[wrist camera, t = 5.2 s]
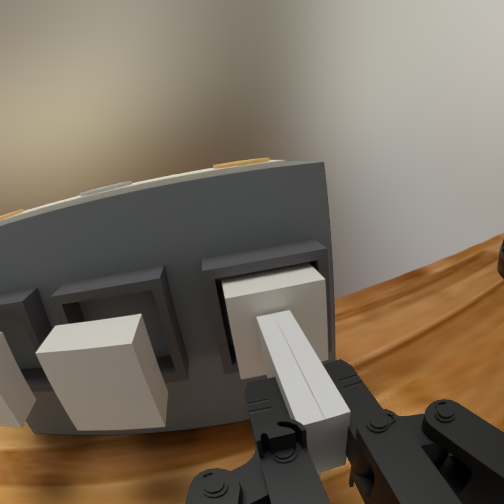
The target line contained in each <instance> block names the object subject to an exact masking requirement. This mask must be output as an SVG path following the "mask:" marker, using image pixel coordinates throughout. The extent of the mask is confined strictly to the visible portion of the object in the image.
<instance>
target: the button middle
mask: <svg viewBox="0 0 504 504" xmlns="http://www.w3.org/2000/svg"><path fill="white" fill-rule="evenodd" d="M36 356H37V358H38V360H39V362H40V364H41V366H42V368H43V370H44V372H45V374H46V376H47V378H48V380H49V382H50V384H51V386H52V388H53V389H54V391H55V393H56V395H57V397H58V399H59V400H60V402H61V404H62V406H63V407H64V409H65V411H66V412H67V414H68V416H69V417H70V419H71V421H72V422H73V424H74V426H75V427H76V429H77V430H126V429H143V428H156V427H165V425H166V412H167V400H168V391H167V388H166V385H165V383H164V380H163V377H162V374H161V371H160V369H159V366H158V363H157V360H156V357H155V354H154V351H153V348H152V345H151V342H150V339H149V336H148V333H147V330H146V326H145V323H144V320H143V317H142V314H137V315H130V316H123V317H116V318H109V319H102V320H95V321H88V322H80V323H73V324H65V325H57V326H55V327H54V328H53V330H52V331H51V332H50V334H49V335H48V336H47V338H46V339H45V340H44V342H43V343H42V345H41V346H40V347H39V349H38V350H37V352H36Z"/></svg>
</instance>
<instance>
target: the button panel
mask: <svg viewBox="0 0 504 504" xmlns="http://www.w3.org/2000/svg"><path fill="white" fill-rule="evenodd" d="M324 167H325V166H324V162H312V161H293V162H286V160H269V158H259V159H251V160H244V161H236V162H230V163H224V164H218V165H213V168H210V169H204V170H198V171H193V172H187V173H181V174H176V175H171V176H165V177H161V178H156V179H151V180H146V181H141V182H136V183H132V181H128V182H123V183H118V184H114V185H110V186H105V187H101V188H97V189H93V190H90V191H86V192H83V193H80V196H76V197H73V198H69V199H65V200H61V201H58V202H54V203H50V204H47V205H43V206H40V207H37V208H33V209H30V210H27V211H23V209H21V210H17V211H14V212H11V213H8V214H5V215H2V216H0V332H3V335H4V337H5V339H6V341H7V344H8V346H9V348H10V350H11V352H12V354H13V356H14V359H15V361H16V363H17V365H18V367H19V369H20V371H21V372H22V374H23V376H24V378H25V380H26V382H27V384H28V386H29V387H30V389H31V391H32V393H33V395H34V396H35V398H36V402H35V403H34V405H33V407H32V409H31V411H30V413H29V415H28V417H27V419H26V422H27V423H28V425H29V426H30V428H31V429H32V431H33V432H34V433H43V434H62V435H121V434H141V433H155V432H166V431H177V430H186V429H194V428H202V427H209V426H216V425H222V424H228V423H234V422H240V421H245V420H250V417H249V413H248V408H247V403H246V399H245V394H244V392H245V389H246V386H247V384H248V382H253V381H257V380H262V379H267V375H262V376H257V377H252V378H247V379H241V378H240V373H239V368H238V363H237V358H236V353H235V348H234V343H233V338H232V333H231V328H230V323H229V318H228V312H227V307H226V302H225V297H224V291H223V286H222V280H221V278H227V277H233V276H238V275H244V274H249V273H255V272H260V271H265V270H271V269H276V268H282V267H287V266H292V265H297V264H303V263H309V264H310V265H311V266H313V267H314V268H315V269H316V270H317V271H318V272H319V273H320V274H321V275H322V276H323V277H324V278H325V283H326V303H327V328H328V360H326V361H322V362H321V363H322V364H326V363H329V362H333V361H335V306H334V280H333V262H332V245H331V231H330V218H329V207H328V196H327V186H326V175H325V168H324ZM137 314H142V317H143V320H144V323H145V326H146V330H147V333H148V336H149V339H150V342H151V345H152V348H153V351H154V354H155V357H156V360H157V363H158V366H159V369H160V371H161V374H162V377H163V380H164V383H165V385H166V388H167V391H168V400H167V412H166V425H165V427H156V428H143V429H126V430H77V429H76V427H75V426H74V424H73V422H72V421H71V419H70V417H69V416H68V414H67V412H66V411H65V409H64V407H63V406H62V404H61V402H60V400H59V399H58V397H57V395H56V393H55V391H54V389H53V388H52V386H51V384H50V382H49V380H48V378H47V376H46V374H45V372H44V370H43V368H42V366H41V364H40V362H39V360H38V358H37V356H36V352H37V350H38V349H39V347H40V346H41V345H42V343H43V342H44V340H45V339H46V338H47V336H48V335H49V334H50V332H51V331H52V330H53V328H54V327H55V326H57V325H65V324H73V323H80V322H88V321H95V320H102V319H109V318H116V317H123V316H130V315H137Z"/></svg>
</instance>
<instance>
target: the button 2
mask: <svg viewBox="0 0 504 504" xmlns="http://www.w3.org/2000/svg"><path fill="white" fill-rule="evenodd" d="M221 280H222V286H223V291H224V297H225V302H226V307H227V312H228V318H229V323H230V328H231V333H232V338H233V343H234V348H235V353H236V358H237V363H238V368H239V373H240V378H241V379H247V378H252V377H257V376H262V375H266V372H265V369H264V365H263V358H262V352H261V345H260V339H259V332H258V326H257V319H256V317H258V316H263V315H268V314H273V313H278V312H283V311H287V310H290V311H291V313H292V315H293V316H294V318H295V320H296V321H297V323H298V325H299V326H300V328H301V330H302V331H303V333H304V335H305V336H306V338H307V340H308V341H309V343H310V345H311V346H312V348H313V350H314V351H315V353H316V355H317V356H318V358H319V360H320V361H321V362H322V361H326V360H328V328H327V303H326V283H325V278H324V277H323V276H322V275H321V274H320V273H319V272H318V271H317V270H316V269H315V268H314V267H313V266H311V265H310V264H309V263H303V264H297V265H292V266H287V267H282V268H276V269H271V270H265V271H260V272H255V273H249V274H244V275H238V276H233V277H227V278H221Z"/></svg>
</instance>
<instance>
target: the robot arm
mask: <svg viewBox="0 0 504 504" xmlns="http://www.w3.org/2000/svg"><path fill="white" fill-rule="evenodd" d="M498 270H499V272H500V274H501V275H502V276H503V277H504V240H503V243H502V246H501V248H500V251H499V259H498ZM256 319H257V326H258V332H259V339H260V345H261V352H262V358H263V365H264V369H265V372H266V375H267V379H262V380H257V381H253V382H248V384H247V386H246V389H245V392H244V394H245V399H246V403H247V408H248V413H249V417H250V422H251V426H252V430H253V435H254V439H255V443H256V451H255V454H254V455H253V457H252V459H250V460H249V461H248V462H247V463H246V464H244V465H242V466H241V467H239V468H236V469H234V470H232V471H228V470H225V469H220V468H215V469H208V470H205V471H203V472H200V473H199V474H198V475H197V476H196V477H194V478H193V480H192V482H191V484H190V487H189V491H188V495H187V498H186V502H185V504H330V502H329V500H328V497H327V495H326V492H325V490H324V487H323V485H322V483H321V480H320V478H319V475H318V473H319V472H322V471H326V470H329V469H332V468H335V467H338V466H342V465H345V464H346V456H347V458H348V460H349V462H350V464H351V472H350V479H349V485H350V487H353V484H354V482H355V484H356V486H357V488H358V490H359V492H360V494H361V496H362V498H363V500H364V502H365V504H504V432H502V431H500V430H499V429H497V428H496V427H494V426H493V425H491V424H490V423H488V422H486V421H485V420H483V419H482V418H480V417H479V416H477V415H476V414H474V413H472V412H471V411H469V410H468V409H466V408H465V407H463V406H462V405H460V404H459V403H457V402H454V401H452V400H445V399H443V400H437V401H435V402H433V403H431V404H430V405H429V406H428V407H427V408H426V411H425V414H418V415H411V416H397V415H396V414H395V413H394V412H392V411H390V410H387V409H383V408H382V407H381V406H380V405H379V403H378V402H377V401H376V399H375V398H374V396H373V395H372V394H371V392H370V391H369V389H368V388H367V387H366V385H365V384H364V383H363V382H362V380H361V378H360V377H359V376H358V375H357V373H356V371H355V370H354V369H353V367H352V366H351V365H349V364H348V363H346V362H344V361H343V360H341V359H340V360H336V361H333V362H329V363H326V364H322V363H321V361H320V360H319V358H318V356H317V355H316V353H315V351H314V350H313V348H312V346H311V345H310V343H309V341H308V340H307V338H306V336H305V335H304V333H303V331H302V330H301V328H300V326H299V325H298V323H297V321H296V320H295V318H294V316H293V315H292V313H291V311H290V310H287V311H283V312H278V313H273V314H268V315H263V316H258V317H256Z"/></svg>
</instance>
